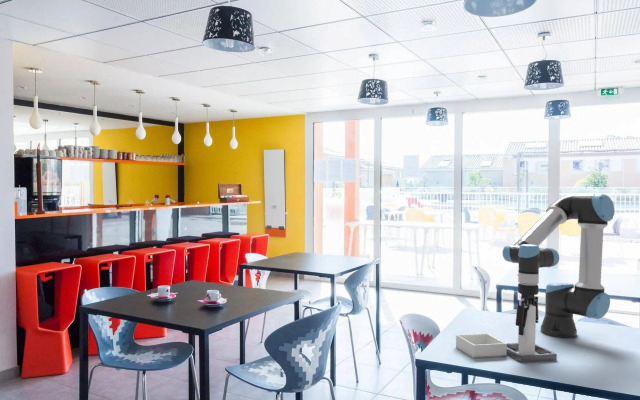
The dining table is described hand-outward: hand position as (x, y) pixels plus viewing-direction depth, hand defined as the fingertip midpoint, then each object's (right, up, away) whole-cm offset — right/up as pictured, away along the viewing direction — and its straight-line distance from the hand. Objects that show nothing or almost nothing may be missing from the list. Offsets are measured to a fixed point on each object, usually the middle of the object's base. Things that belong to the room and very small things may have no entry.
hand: (526, 340), depth 200 cm
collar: (0, -6, 0) cm, 6 cm away
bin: (-17, -5, +3) cm, 18 cm away
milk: (0, -5, 0) cm, 5 cm away
